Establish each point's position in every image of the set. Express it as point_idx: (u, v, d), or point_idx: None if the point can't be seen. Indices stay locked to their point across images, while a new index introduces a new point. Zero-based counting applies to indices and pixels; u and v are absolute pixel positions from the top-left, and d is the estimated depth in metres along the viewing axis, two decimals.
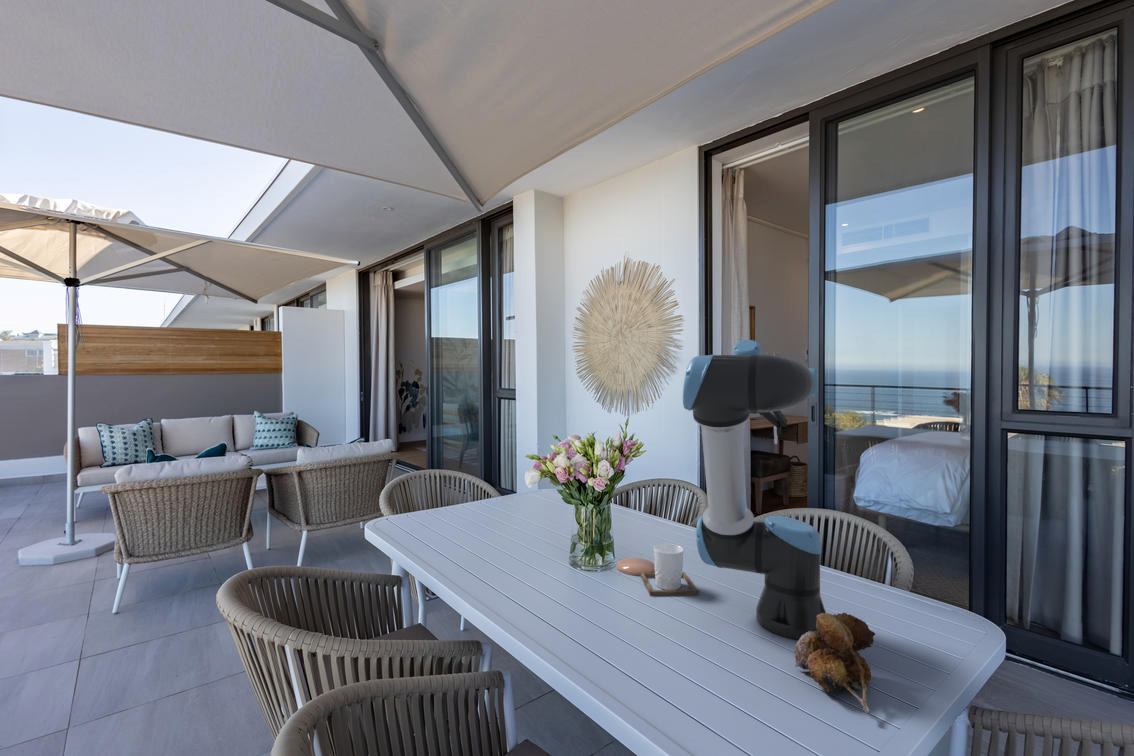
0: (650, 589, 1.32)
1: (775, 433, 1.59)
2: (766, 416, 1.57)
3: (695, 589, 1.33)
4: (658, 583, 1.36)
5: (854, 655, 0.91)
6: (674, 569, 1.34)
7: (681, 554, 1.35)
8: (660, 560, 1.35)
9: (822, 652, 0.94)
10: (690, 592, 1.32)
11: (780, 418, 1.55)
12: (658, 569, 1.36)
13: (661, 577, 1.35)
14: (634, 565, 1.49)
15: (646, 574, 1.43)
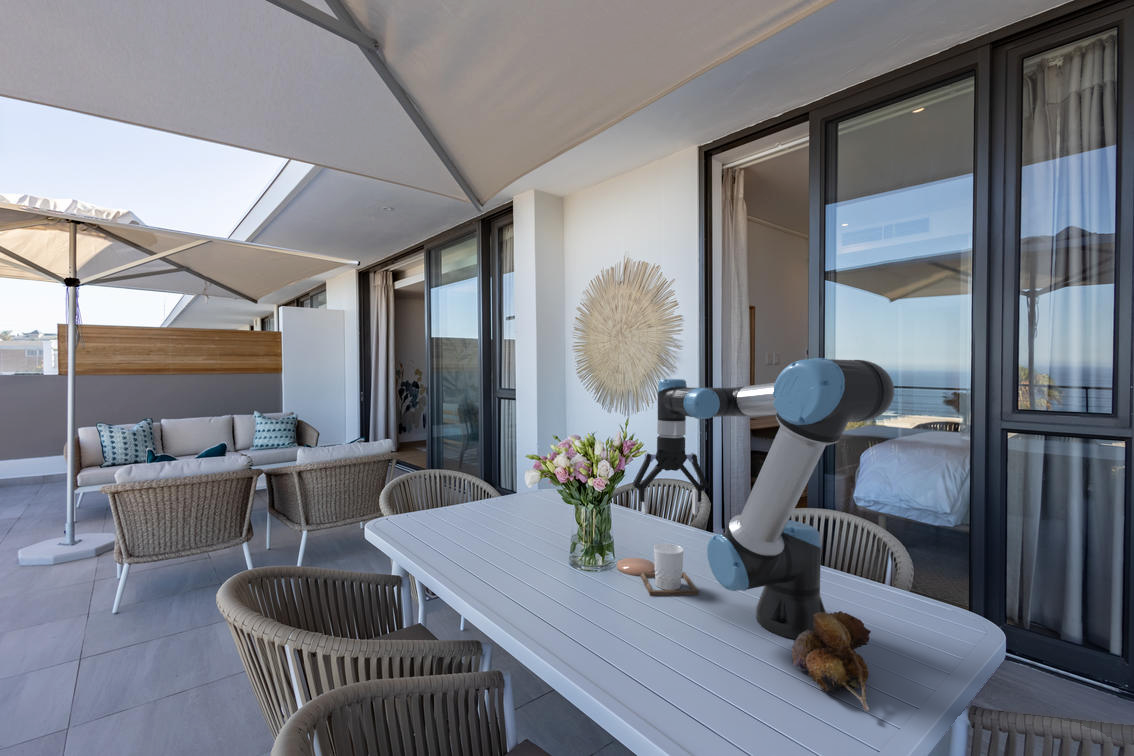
0: (650, 589, 1.32)
1: (696, 498, 1.38)
2: (688, 473, 1.38)
3: (695, 589, 1.33)
4: (658, 583, 1.36)
5: (852, 654, 0.92)
6: (674, 569, 1.34)
7: (681, 554, 1.35)
8: (660, 560, 1.35)
9: (820, 651, 0.94)
10: (690, 592, 1.32)
11: (702, 476, 1.38)
12: (658, 569, 1.36)
13: (661, 577, 1.35)
14: (634, 565, 1.49)
15: (646, 574, 1.43)
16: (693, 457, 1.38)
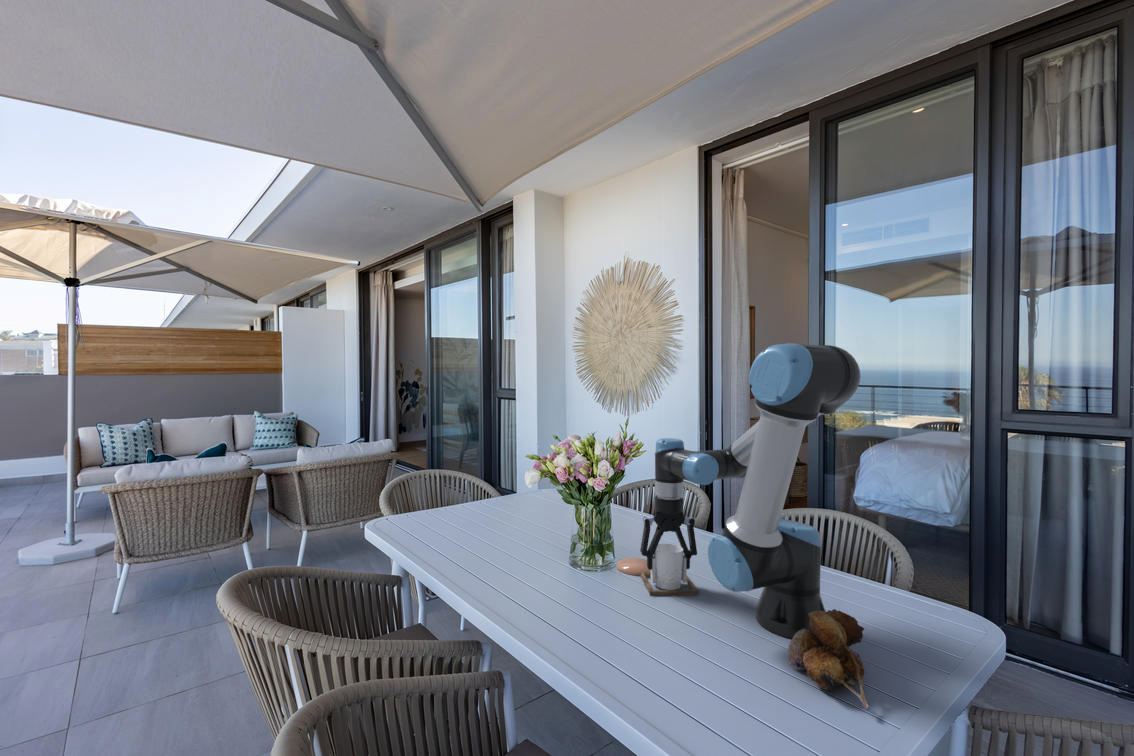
0: (650, 589, 1.32)
1: (685, 565, 1.37)
2: (681, 538, 1.37)
3: (695, 589, 1.33)
4: (658, 583, 1.36)
5: (849, 651, 0.93)
6: (674, 569, 1.34)
7: (681, 554, 1.35)
8: (660, 560, 1.35)
9: (818, 650, 0.94)
10: (690, 592, 1.32)
11: (694, 542, 1.37)
12: (658, 569, 1.36)
13: (661, 577, 1.35)
14: (634, 565, 1.49)
15: (646, 574, 1.43)
16: (691, 521, 1.37)
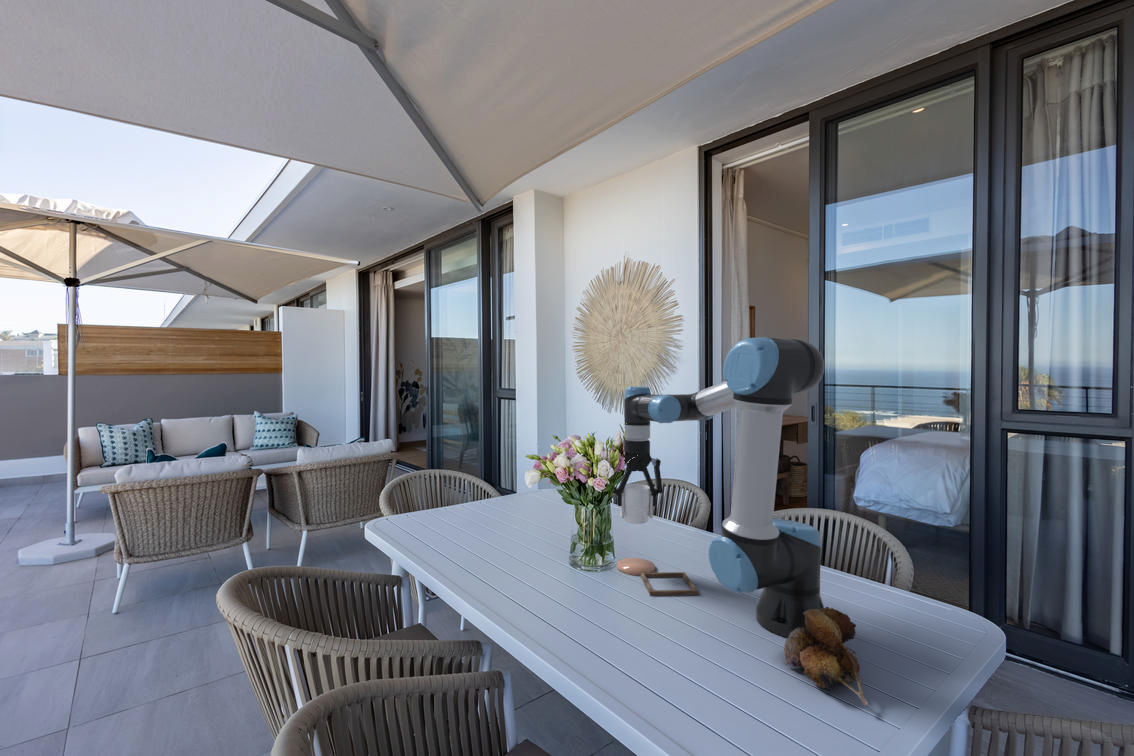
0: (650, 589, 1.32)
1: (651, 502, 1.49)
2: (648, 477, 1.49)
3: (695, 589, 1.33)
4: (627, 518, 1.48)
5: (845, 649, 0.93)
6: (641, 504, 1.46)
7: (647, 491, 1.47)
8: (628, 497, 1.47)
9: (814, 648, 0.95)
10: (690, 592, 1.32)
11: (660, 481, 1.49)
12: (626, 505, 1.48)
13: (629, 512, 1.47)
14: (634, 565, 1.49)
15: (646, 574, 1.43)
16: (657, 462, 1.49)
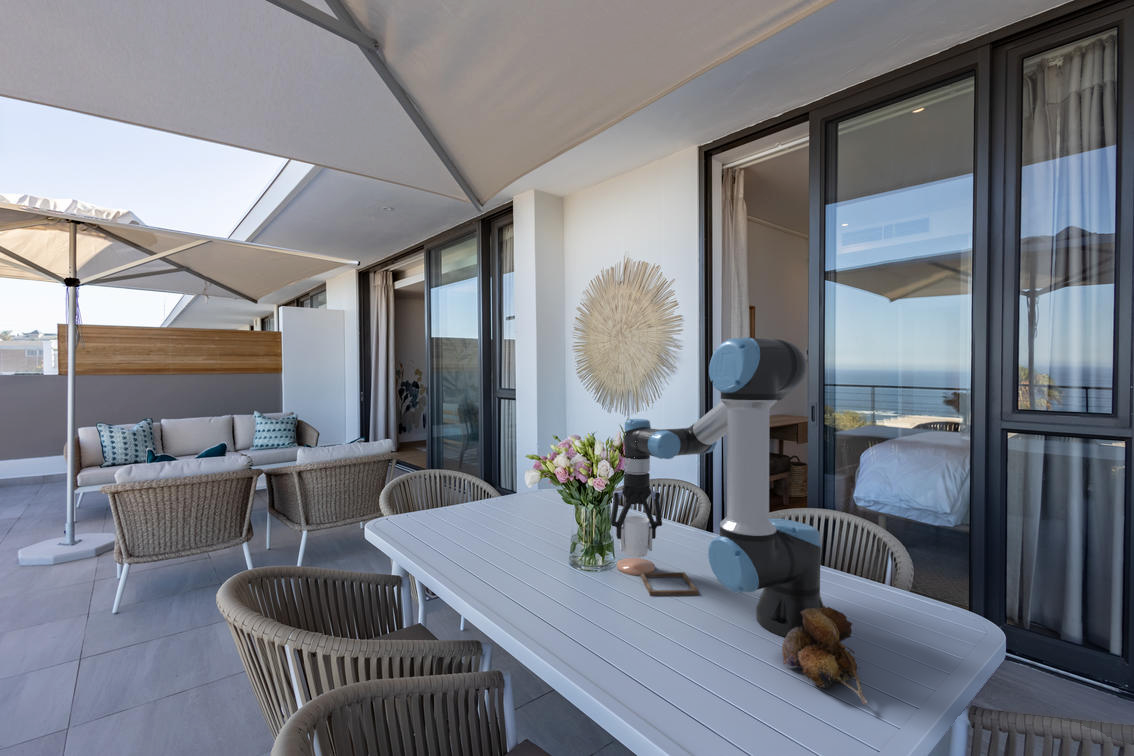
0: (650, 589, 1.32)
1: (651, 535, 1.49)
2: (647, 510, 1.49)
3: (695, 589, 1.33)
4: (626, 551, 1.48)
5: (843, 648, 0.94)
6: (640, 538, 1.46)
7: (647, 524, 1.47)
8: (628, 530, 1.47)
9: (813, 648, 0.95)
10: (690, 592, 1.32)
11: (659, 514, 1.49)
12: (626, 538, 1.48)
13: (628, 545, 1.47)
14: (634, 565, 1.49)
15: (646, 574, 1.43)
16: (656, 494, 1.49)
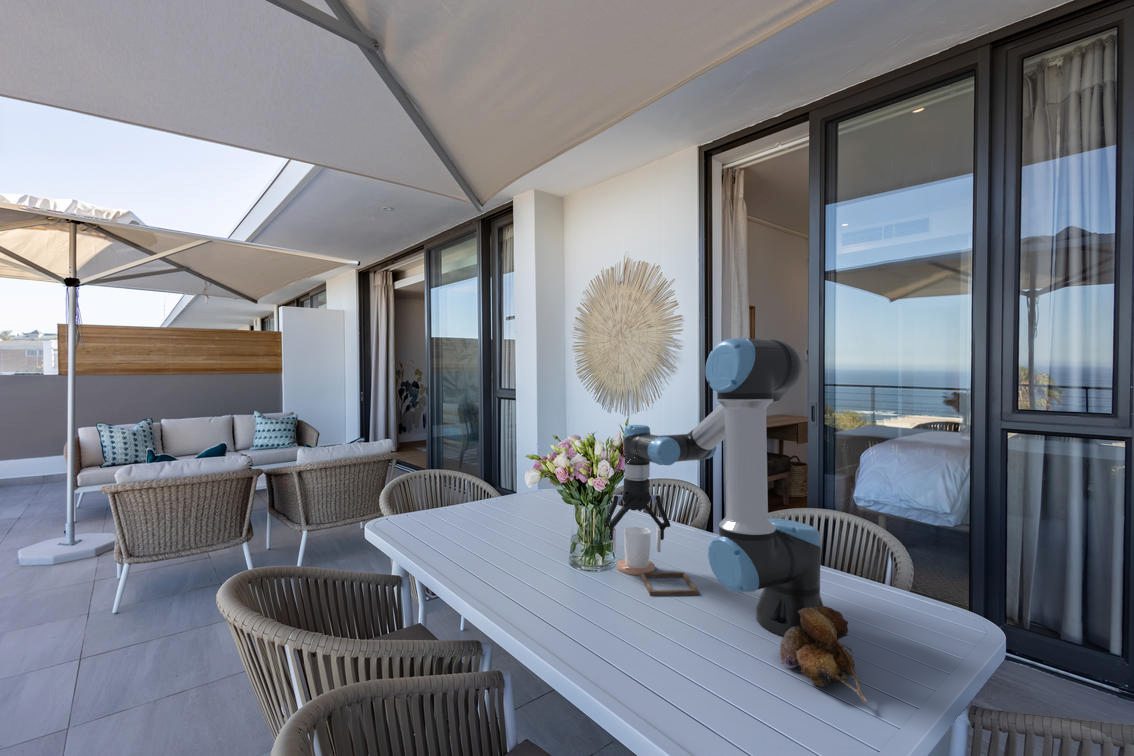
0: (650, 589, 1.32)
1: (659, 536, 1.49)
2: (651, 513, 1.49)
3: (695, 589, 1.33)
4: (627, 562, 1.48)
5: (841, 646, 0.94)
6: (642, 549, 1.46)
7: (648, 536, 1.47)
8: (629, 541, 1.47)
9: (811, 647, 0.95)
10: (690, 592, 1.32)
11: (665, 515, 1.49)
12: (627, 549, 1.48)
13: (630, 557, 1.47)
14: None
15: (646, 574, 1.43)
16: (657, 498, 1.49)
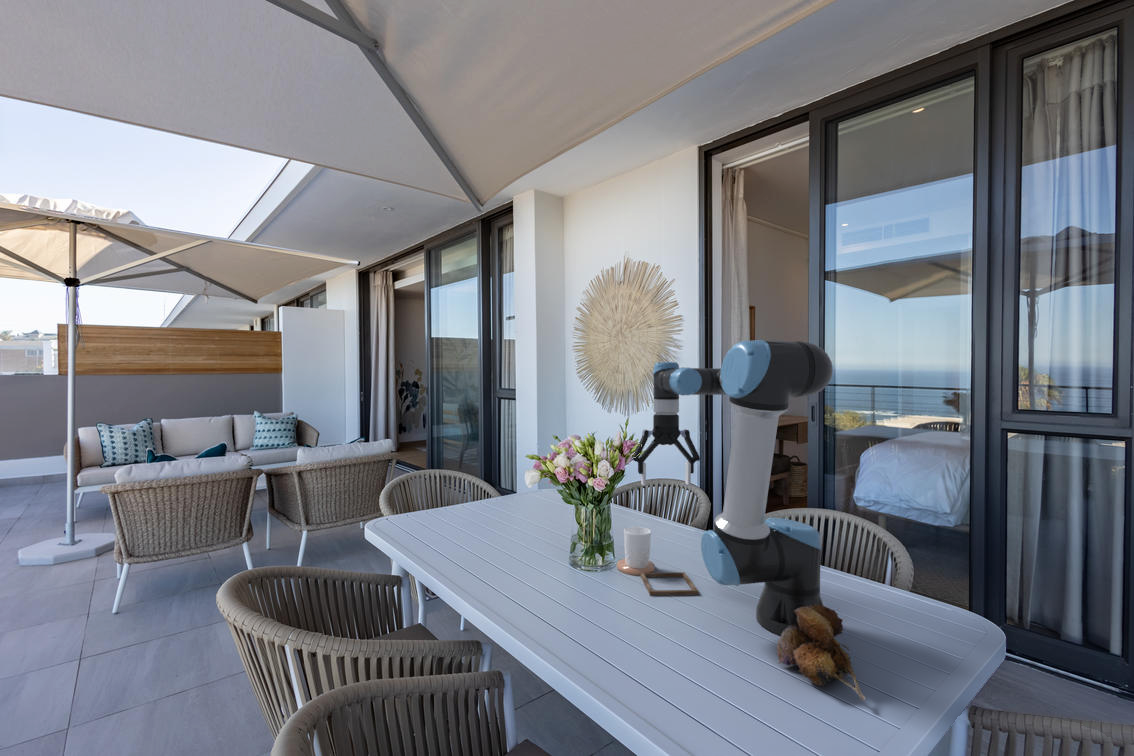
0: (650, 589, 1.32)
1: (689, 470, 1.52)
2: (681, 447, 1.52)
3: (695, 589, 1.33)
4: (627, 562, 1.48)
5: (838, 645, 0.95)
6: (642, 549, 1.46)
7: (648, 535, 1.47)
8: (629, 541, 1.47)
9: (809, 646, 0.96)
10: (690, 592, 1.32)
11: (694, 449, 1.53)
12: (627, 549, 1.48)
13: (630, 557, 1.47)
14: None
15: (646, 574, 1.43)
16: (686, 432, 1.52)
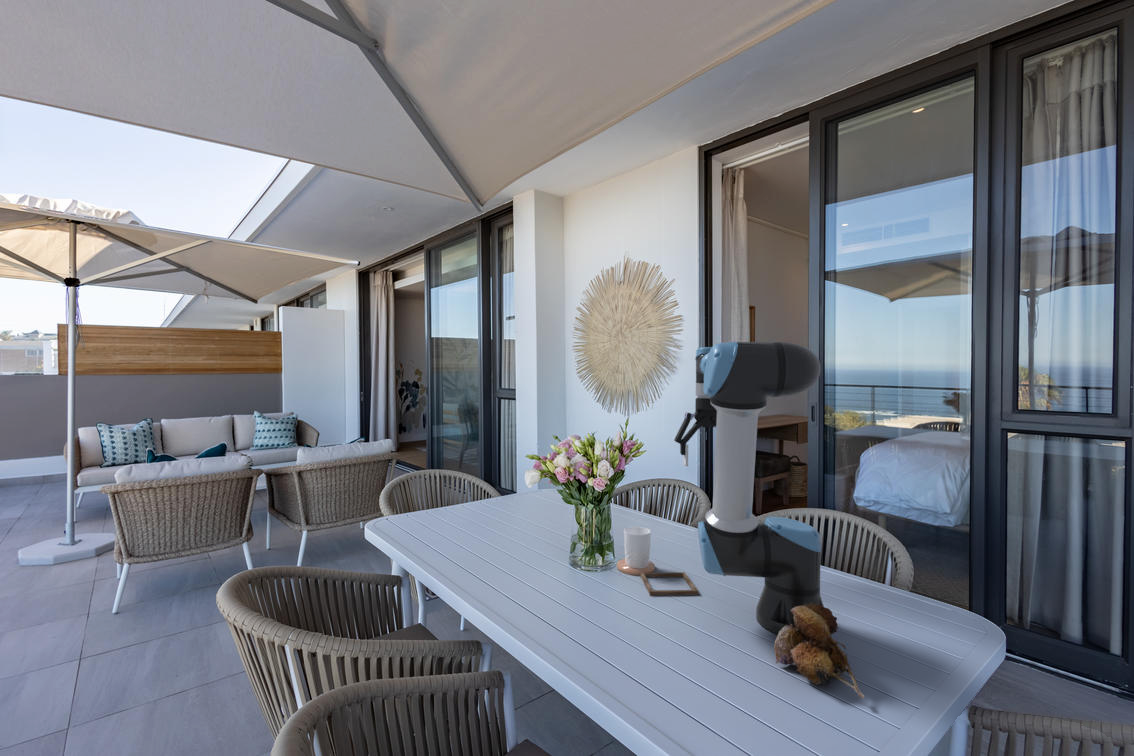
0: (650, 589, 1.32)
1: None
2: None
3: (695, 589, 1.33)
4: (627, 562, 1.48)
5: (835, 643, 0.95)
6: (641, 549, 1.46)
7: (648, 536, 1.47)
8: (629, 541, 1.47)
9: (806, 645, 0.96)
10: (690, 592, 1.32)
11: None
12: (627, 549, 1.48)
13: (630, 557, 1.47)
14: None
15: (646, 574, 1.43)
16: None
